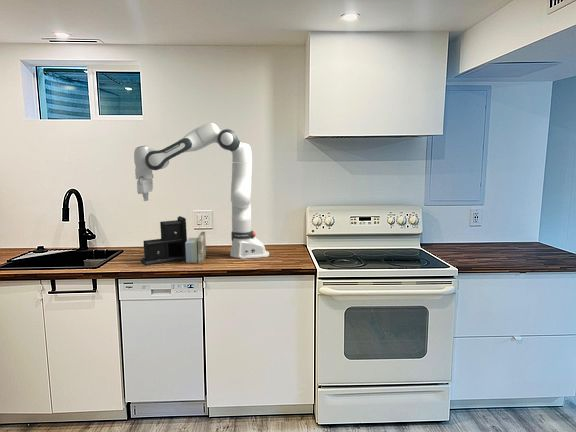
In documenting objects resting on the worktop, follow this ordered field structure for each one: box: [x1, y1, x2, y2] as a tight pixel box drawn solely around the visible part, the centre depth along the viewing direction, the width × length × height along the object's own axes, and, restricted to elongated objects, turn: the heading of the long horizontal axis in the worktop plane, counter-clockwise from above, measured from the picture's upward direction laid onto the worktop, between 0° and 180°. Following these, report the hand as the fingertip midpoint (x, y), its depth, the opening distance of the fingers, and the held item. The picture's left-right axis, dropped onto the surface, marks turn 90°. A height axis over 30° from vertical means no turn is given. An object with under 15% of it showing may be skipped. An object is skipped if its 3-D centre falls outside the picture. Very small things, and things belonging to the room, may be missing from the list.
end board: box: [197, 231, 207, 264], centre depth 226 cm, size 2×18×14 cm, turn 5°
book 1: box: [185, 237, 195, 264], centre depth 226 cm, size 3×14×11 cm, turn 5°
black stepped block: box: [140, 215, 188, 266], centre depth 223 cm, size 23×11×24 cm, turn 121°
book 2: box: [191, 237, 199, 264], centre depth 226 cm, size 3×14×11 cm, turn 5°
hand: (146, 200), depth 227 cm, fingers closed
